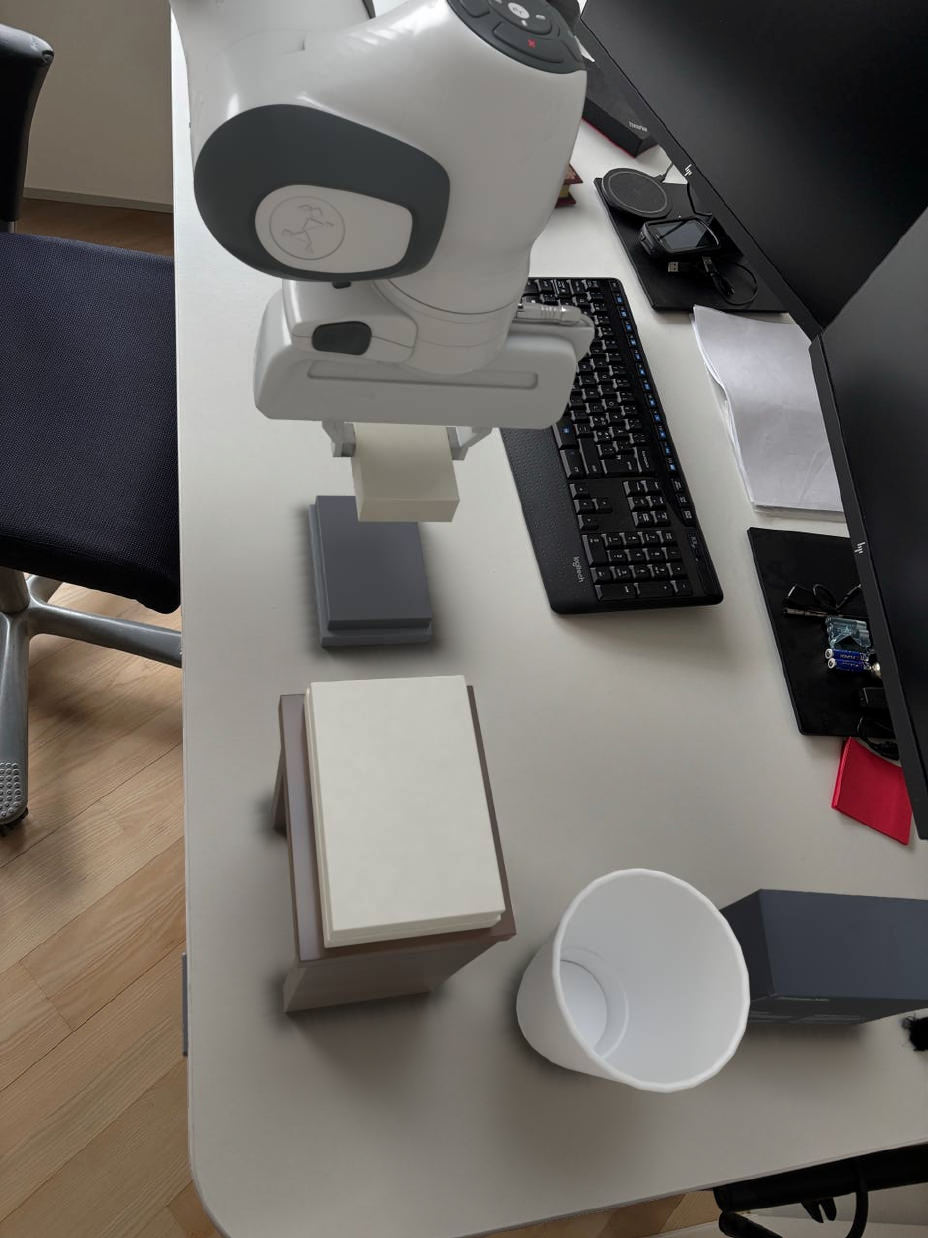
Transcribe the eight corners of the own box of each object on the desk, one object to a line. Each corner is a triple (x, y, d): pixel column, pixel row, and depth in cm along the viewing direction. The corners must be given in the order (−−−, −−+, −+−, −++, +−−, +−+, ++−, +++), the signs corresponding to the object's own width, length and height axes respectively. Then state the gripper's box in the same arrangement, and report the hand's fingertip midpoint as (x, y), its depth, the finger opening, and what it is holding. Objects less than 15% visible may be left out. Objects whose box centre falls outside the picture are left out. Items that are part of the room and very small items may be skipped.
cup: (542, 1142, 60) (635, 1141, 47) (450, 976, 64) (512, 931, 51) (673, 1041, 65) (792, 1014, 52) (581, 893, 69) (669, 832, 56)
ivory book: (342, 396, 66) (347, 371, 64) (429, 400, 68) (436, 375, 66) (358, 522, 61) (363, 499, 59) (451, 522, 63) (460, 500, 61)
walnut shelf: (264, 808, 67) (279, 694, 50) (411, 795, 70) (472, 684, 53) (276, 1013, 60) (298, 963, 44) (438, 990, 63) (517, 934, 47)
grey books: (308, 514, 80) (311, 492, 78) (408, 515, 83) (414, 493, 80) (320, 646, 74) (324, 627, 72) (428, 642, 77) (436, 624, 74)
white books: (303, 701, 50) (309, 673, 47) (453, 693, 52) (467, 665, 49) (324, 948, 44) (332, 934, 41) (492, 927, 46) (511, 912, 43)
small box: (835, 932, 72) (935, 897, 62) (853, 1026, 69) (962, 1006, 59) (681, 924, 70) (759, 886, 60) (692, 1021, 66) (777, 999, 56)
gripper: (593, 274, 57) (527, 422, 69) (256, 243, 51) (247, 411, 63) (617, 349, 54) (544, 490, 66) (263, 325, 48) (252, 485, 60)
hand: (396, 451), depth 64 cm, fingers closed on ivory book, 6 cm apart
